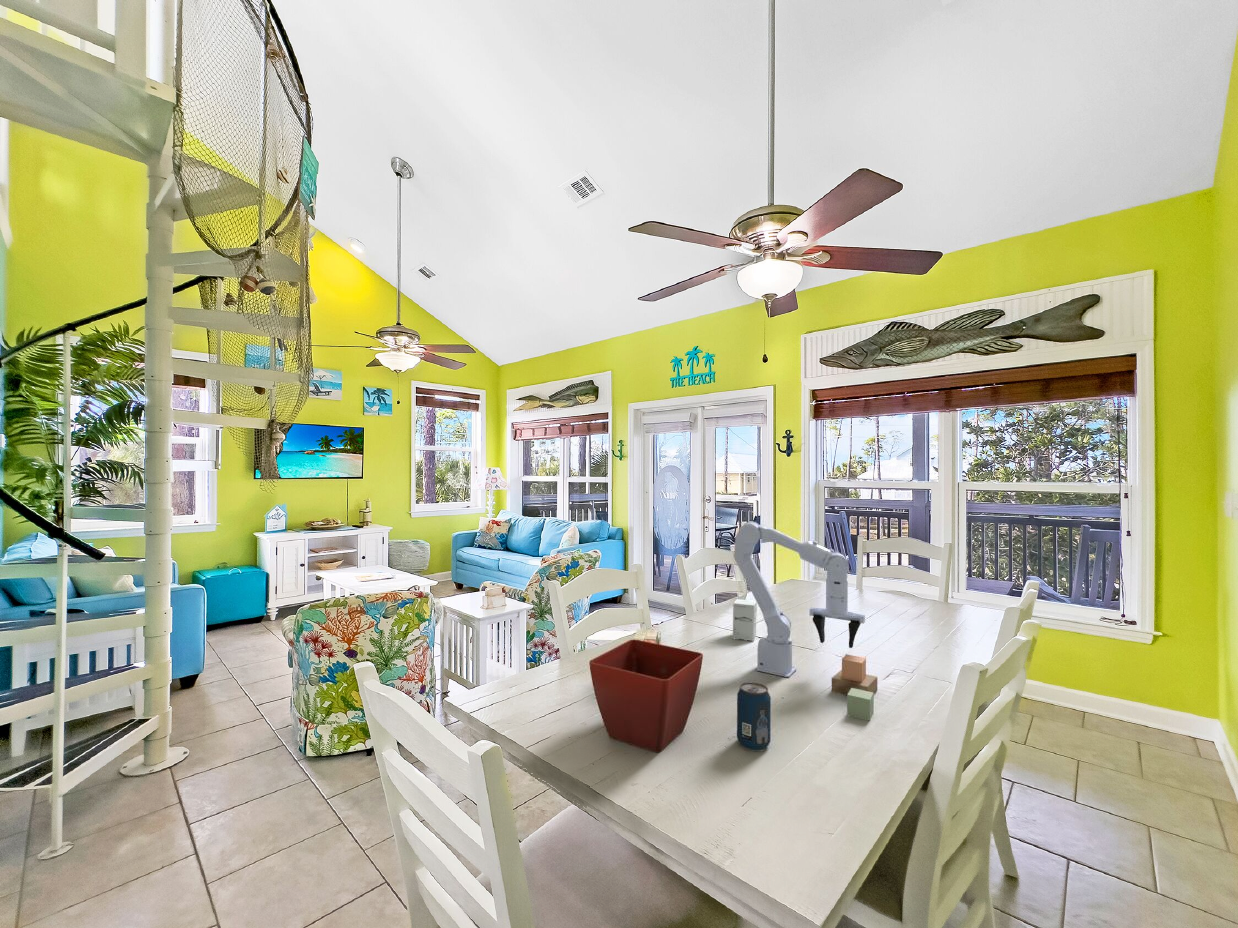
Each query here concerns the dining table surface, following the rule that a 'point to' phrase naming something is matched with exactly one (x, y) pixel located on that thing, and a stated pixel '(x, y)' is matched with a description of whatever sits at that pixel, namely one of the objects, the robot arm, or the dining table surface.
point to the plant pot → (645, 691)
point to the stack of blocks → (648, 636)
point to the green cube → (860, 704)
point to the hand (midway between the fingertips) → (836, 644)
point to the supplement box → (744, 619)
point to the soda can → (753, 716)
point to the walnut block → (853, 684)
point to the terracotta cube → (853, 668)
